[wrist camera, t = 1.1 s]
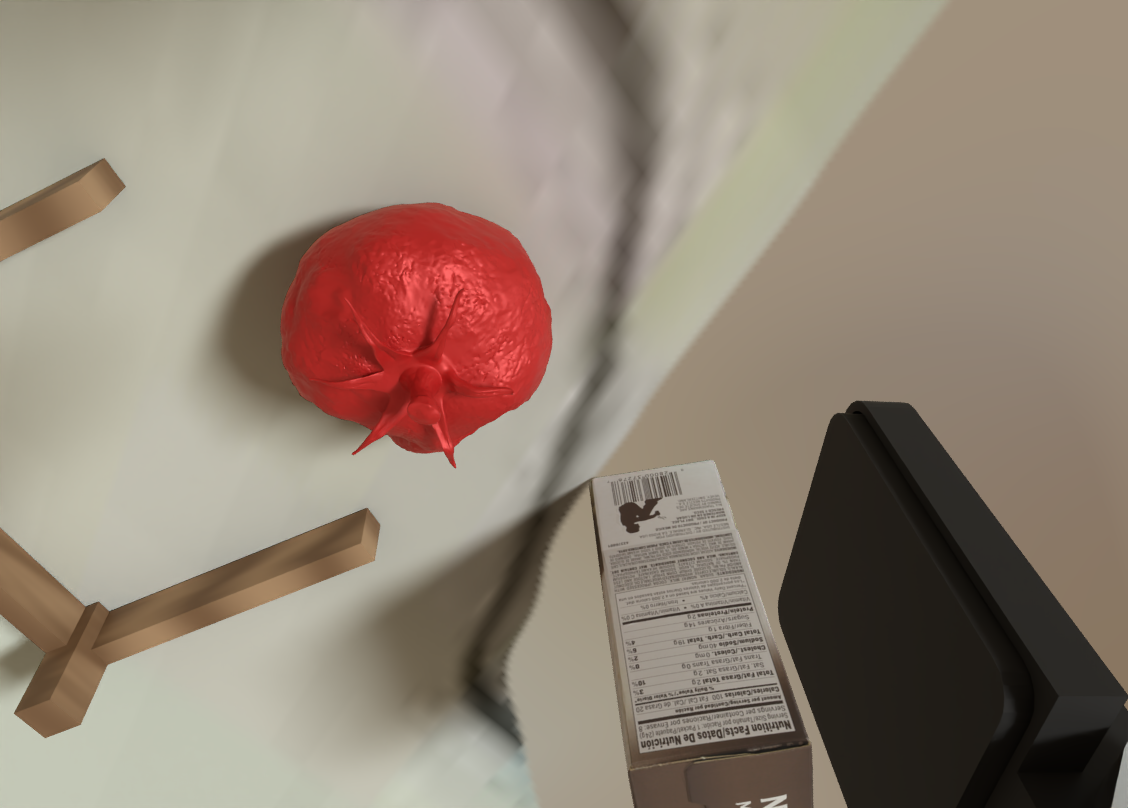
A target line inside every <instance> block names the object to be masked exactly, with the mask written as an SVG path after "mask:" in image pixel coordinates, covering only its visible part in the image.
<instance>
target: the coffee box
mask: <svg viewBox="0 0 1128 808" xmlns="http://www.w3.org/2000/svg"><path fill="white" fill-rule="evenodd" d="M589 490H590V497H591V505H592V512H593V520H594V528H595V535H596V544H597V551H598V559H599V567H600V575H601V582H602V590H603V598H604V605H605V613H606V620H607V627H608V635H609V643H610V650H611V658H612V665H613V672H614V679H615V686H616V693H617V700H618V708H619V715H620V721H621V729H622V736H623V742H624V750H625V756H626V763H627V770H628V778H629V783H630V789H631V794H632V799H633V804H634V808H813V767H812V746H811V742H810V740H809V738H808V735H807V733H806V730H805V727H804V724H803V721H802V718H801V715H800V712H799V709H798V706H797V704H796V700H795V697H794V694H793V691H792V688H791V686H790V683H789V680H788V677H787V674H786V671H785V668H784V665H783V662H782V659H781V656H780V654H779V651H778V648H777V645H776V642H775V639H774V636H773V633H772V630H771V627H770V624H769V621H768V618H767V615H766V612H765V609H764V606H763V603H762V600H761V597H760V594H759V592H758V588H757V585H756V582H755V580H754V577H753V574H752V571H751V568H750V565H749V562H748V559H747V556H746V553H745V550H744V547H743V544H742V541H741V538H740V535H739V531H738V529H737V526H736V522H735V519H734V517H733V514H732V511H731V508H730V505H729V502H728V499H727V496H726V493H725V490H724V487H723V484H722V482H721V479H720V476H719V473H718V470H717V467H716V465H715V462H714V461H713V460H707V461H700V462H694V463H688V464H681V465H675V466H668V467H661V468H656V469H648V470H642V471H635V472H629V473H623V474H616V475H610V476H604V477H597V478H593V479H591V480H590V482H589Z"/></svg>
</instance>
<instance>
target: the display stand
mask: <svg viewBox="0 0 1128 808" xmlns="http://www.w3.org/2000/svg"><path fill="white" fill-rule="evenodd" d="M125 187H126V186H125V185H124V184H123V182H122V181H121V180H120V178H119V177H118V176H117V174H116V173H115V172H114V170H113V169H112V168H111V166H110V165H109V164H108V162H107V161H106V160H105V158H104V159H102V160H100V161H98V162H96V163H94V164H92V165H90V166H88V167H86V168H84V169H82V170H80V171H78V172H76V173H74V174H72V175H70V176H68V177H66V178H64V179H62V180H60V181H58V182H56V183H54V184H52V185H51V186H49V187H47V188H45V189H43V190H41V191H39V192H37V193H35V194H33V195H31V196H29V197H27V198H25V199H23V200H21V201H19V202H17V203H15V204H13V205H11V206H9V207H7V208H5V209H3V210H1V211H0V261H2V260H4V259H6V258H8V257H10V256H12V255H14V254H16V253H18V252H20V251H22V250H24V249H26V248H28V247H30V246H32V245H34V244H36V243H38V242H40V241H42V240H44V239H46V238H48V237H50V236H52V235H54V234H56V233H58V232H60V231H62V230H64V229H66V228H68V227H70V226H72V225H74V224H76V223H78V222H80V221H82V220H85V219H87V218H89V217H91V216H93V215H95V214H97V213H99V212H101V211H102V210H103V209H104V208H105V207H106V206H107V205H108V204H109V203H110V202H111V201H112V200H113V199H114V198H115V197H116V196H117V195H118V194H119V193H120V192H121V191H122V190H123V189H124V188H125ZM379 530H380V524H379V523H378V521H377V520H376V519H375V517H374V516H373V515H372V513H371V512H370V511H369V509H368V508H366V509H364V510H361V511H359V512H356V513H354V514H351V515H349V516H346V517H344V518H341V519H339V520H336V521H334V522H331V523H329V524H326V525H324V526H321V527H319V528H316V529H314V530H311V531H309V532H306V533H304V534H301V535H299V536H296V537H294V538H292V539H289V540H287V541H284V542H282V543H279V544H277V545H274V546H272V547H269V548H267V549H264V550H262V551H259V552H257V553H254V554H252V555H249V556H247V557H244V558H242V559H239V560H237V561H234V562H232V563H229V564H227V565H224V566H222V567H219V568H217V569H214V570H212V571H209V572H207V573H205V574H202V575H200V576H197V577H195V578H192V579H190V580H187V581H185V582H182V583H180V584H177V585H175V586H172V587H170V588H167V589H165V590H162V591H160V592H157V593H155V594H152V595H150V596H147V597H145V598H142V599H140V600H137V601H135V602H132V603H130V604H127V605H125V606H122V607H120V608H118V609H115V610H113V611H110V612H109V611H108V610H107V609H106V608H105V607H104V606H103V605H102V604H101V603H99V602H97V603H95V604H92V605H90V606H87V607H85V606H84V605H83V604H82V603H81V602H80V601H79V600H77V599H76V598H75V597H74V596H73V595H72V594H71V593H70V592H69V591H68V590H67V589H66V588H65V587H63V586H62V585H61V584H60V583H59V582H58V581H57V580H56V579H55V578H54V577H53V576H52V575H51V574H49V573H48V572H47V571H46V570H45V569H44V568H43V567H42V566H41V565H40V564H39V563H38V562H36V561H35V560H34V559H33V558H32V557H31V556H30V555H29V554H28V553H27V552H26V551H25V550H24V549H22V548H21V547H20V546H19V545H18V544H17V543H16V542H15V541H14V540H13V539H12V538H11V537H10V536H8V535H7V534H6V533H5V532H4V531H3V530H2V529H1V528H0V614H1V615H2V616H3V617H4V618H5V619H7V620H8V621H9V622H10V623H11V624H12V625H14V626H15V627H16V628H17V629H18V630H19V631H21V632H22V633H23V634H24V635H25V636H26V637H28V638H29V639H30V640H31V641H32V642H33V643H35V644H36V645H37V646H38V647H39V648H40V649H41V650H43V651H44V652H45V653H46V654H45V656H44V658H43V660H42V662H41V663H40V665H39V667H38V669H37V671H36V673H35V675H34V677H33V678H32V680H31V682H30V684H29V686H28V688H27V690H26V692H25V694H24V695H23V697H22V699H21V701H20V703H19V705H18V707H17V709H16V710H15V712H14V714H15V715H16V716H18V717H19V718H20V719H21V720H23V721H24V722H25V723H27V724H28V725H29V726H30V727H32V728H33V729H34V730H35V731H37V732H38V733H39V734H41V735H42V736H43V737H44V738H47V737H49V736H52V735H55V734H57V733H60V732H63V731H65V730H68V729H70V728H73V727H76V726H78V725H81V722H82V720H83V718H84V716H85V714H86V711H87V709H88V707H89V705H90V703H91V700H92V698H93V696H94V694H95V691H96V689H97V687H98V685H99V683H100V680H101V678H102V676H103V674H104V672H105V669H106V667H107V665H108V664H111V663H113V662H116V661H118V660H121V659H124V658H126V657H129V656H131V655H134V654H136V653H139V652H141V651H144V650H147V649H149V648H152V647H154V646H157V645H159V644H162V643H165V642H167V641H170V640H172V639H175V638H177V637H180V636H182V635H185V634H188V633H190V632H193V631H195V630H198V629H200V628H203V627H206V626H208V625H211V624H213V623H216V622H218V621H221V620H223V619H226V618H229V617H231V616H234V615H236V614H239V613H241V612H244V611H247V610H249V609H252V608H254V607H257V606H259V605H262V604H264V603H267V602H270V601H272V600H275V599H277V598H280V597H282V596H285V595H288V594H290V593H293V592H295V591H298V590H300V589H303V588H305V587H308V586H311V585H313V584H316V583H318V582H321V581H323V580H326V579H329V578H331V577H334V576H336V575H339V574H341V573H344V572H346V571H349V570H352V569H354V568H357V567H359V566H362V565H364V564H367V563H370V562H372V561H375V555H376V549H377V542H378V536H379Z"/></svg>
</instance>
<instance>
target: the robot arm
mask: <svg viewBox="0 0 1128 808" xmlns="http://www.w3.org/2000/svg"><path fill="white" fill-rule="evenodd" d="M778 613H779V622H780V625H781V629H782V632H783V634H784V637H785V640H786V642H787V645H788V648H789V650H790V653H791V656H792V659H793V661H794V664H795V667H796V669H797V672H798V675H799V677H800V680H801V683H802V686H803V688H804V691H805V694H806V696H807V699H808V702H809V704H810V707H811V710H812V713H813V715H814V718H815V721H816V723H817V726H818V729H819V731H820V734H821V737H822V739H823V742H824V745H825V748H826V750H827V753H828V756H829V758H830V761H831V764H832V767H833V769H834V772H835V774H836V777H837V780H838V783H839V785H840V788H841V791H842V793H843V796H844V799H845V801H846V804H847V807H848V808H1128V711H1127V709H1126V708H1125V706H1124V704H1125V702H1126V701H1127V699H1128V695H1127V693H1126V692H1125V691H1124V689H1123V688H1122V687H1121V685H1120V684H1119V683H1118V681H1117V680H1116V679H1115V677H1114V676H1113V674H1112V673H1111V672H1110V670H1109V669H1108V668H1107V666H1106V665H1105V664H1104V662H1103V661H1102V660H1101V659H1100V657H1099V656H1098V654H1097V653H1096V652H1095V650H1094V649H1093V648H1092V646H1091V645H1090V644H1089V642H1088V641H1087V640H1086V638H1085V637H1084V636H1083V634H1082V633H1081V632H1080V630H1079V629H1078V628H1077V626H1076V625H1075V623H1074V622H1073V621H1072V619H1071V618H1070V617H1069V615H1068V614H1067V613H1066V611H1065V610H1064V609H1063V608H1062V606H1061V605H1060V603H1059V602H1058V601H1057V599H1056V598H1055V597H1054V595H1053V594H1052V593H1051V591H1050V590H1049V589H1048V587H1047V586H1046V585H1045V583H1044V582H1043V581H1042V579H1041V578H1040V577H1039V575H1038V574H1037V572H1036V571H1035V570H1034V568H1033V567H1032V566H1031V564H1030V563H1029V562H1028V560H1027V559H1026V558H1025V556H1024V555H1023V554H1022V552H1021V551H1020V550H1019V548H1018V547H1017V546H1016V545H1015V543H1014V542H1013V540H1012V539H1011V538H1010V536H1009V535H1008V534H1007V532H1006V531H1005V530H1004V528H1003V527H1002V526H1001V524H1000V523H999V522H998V520H997V519H996V518H995V516H994V515H993V513H992V512H991V511H990V509H989V508H988V507H987V506H986V504H985V503H984V501H983V500H982V499H981V498H980V496H979V495H978V493H977V492H976V491H975V489H974V488H973V487H972V485H971V484H970V483H969V481H968V480H967V479H966V477H965V476H964V475H963V473H962V472H961V471H960V469H959V468H958V467H957V465H956V464H955V463H954V461H953V460H952V458H951V457H950V456H949V454H948V453H947V452H946V450H945V449H944V448H943V446H942V445H941V444H940V442H939V441H938V440H937V438H936V437H935V436H934V434H933V433H932V432H931V430H930V429H929V428H928V426H927V425H926V424H925V422H924V421H923V420H922V418H921V417H920V416H919V414H918V413H917V412H916V410H915V409H914V408H913V407H912V406H911V405H910V404H908V403H901V402H876V401H875V402H874V401H855V402H853V403H851V405H850V406H849V407H848V409H847V410H846V413H837V414H835V415H834V416H833V417H832V419H831V420H830V423H829V426H828V429H827V432H826V436H825V439H824V443H823V446H822V449H821V453H820V456H819V460H818V463H817V467H816V470H815V473H814V477H813V480H812V484H811V487H810V491H809V494H808V497H807V501H806V504H805V508H804V511H803V515H802V518H801V522H800V525H799V528H798V532H797V535H796V539H795V542H794V545H793V549H792V553H791V556H790V559H789V563H788V566H787V570H786V573H785V576H784V580H783V583H782V587H781V590H780V594H779V600H778Z"/></svg>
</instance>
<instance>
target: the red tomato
mask: <svg viewBox="0 0 1128 808" xmlns="http://www.w3.org/2000/svg"><path fill="white" fill-rule="evenodd" d="M551 322H552V318H551V310H550V307H549V305H548V304H547V301H546V300H545V298H544V293H543V288H542V284H541V280H540V277H539V276H538V274H537V272H536V270H535V267H534V265H533V264H532V262H531V260H530V258H529V256H528V255H527V253H526V251H525V250H524V248H523V247H522V245H521V243H520V241H519V240H518V239H517V238H516V237H515V236H513V235H512V234H511V233H510V232H509V231H508V230H506V229H504V228H502V227H500V226H498V225H497V224H495V223H493V222H490V221H488V220H486V219H483V218H481V217H478V216H474V215H471V214H468V213H464V212H460V211H457V210H456V209H454V208H453V207H450V206H445V205H443V204H440V203H418V204H400V205H393V206H389V207H385V208H381V209H378V210H375V211H372V212H369V213H367V214H363V215H361V216H358V217H356V218H354V219H352V220H350V221H347V222H345V223H343V224H341V225H338V226H336V227H334V228H332V229H330V230H329V231H328V232H326V233H325V234H324V235H322V236H321V237H320V238H318V239H317V240H316V241H315V242H314V243H313V244H312V245H311V246H310V248H309V249H308V250H307V252H306V253H305V254H304V255H303V257H302V258H301V260H300V262H299V266H298V269H297V272H296V276H295V279H294V280H293V282H292V284H291V285H290V287H289V290H288V292H287V294H286V297H285V300H284V304H283V307H282V314H281V326H280V332H281V337H282V349H281V356H282V361H283V365H284V367H285V369H286V370H287V371H288V373H289V377H290V379H291V381H292V384H293V385H294V386H296V388H297V390H298V392H299V394H300V396H302V397H303V398H305V399H306V400H308V401H310V402H313V403H314V404H315V405H316V406H317V407H319V408H320V409H321V410H322V411H324V412H325V413H327V414H329V415H331V416H334V417H337V418H340V419H343V420H350V421H354V422H356V423H359V424H361V425H363V426H365V427H367V428H369V429H370V430H372V432H371V433H370V435H369V436H368V437H367V438H366V439H365V441H364V442H363V443H362V444H361V446H360V447H359V448H358V449H357V450H356V451H354V452H353V453H352V455H355V454H356V453H358V452H359V451H360V450H362V449H363V448H365V447H366V446H368V445H369V444H371V443H372V442H374V441H376V440H378V439H380V438H381V437H383V436H384V435H388V436H389V437H391V439H392V440H393V441H394V442H395V444H397V445H398V446H400V447H401V448H403V449H406V450H407V451H411V452H414V453H433V452H443V451H444V453H445V455H446V457H447V458H448V460H449V462H450V463H451V464H452V466H453V467H454V468H456V464H455V461H454V457H453V454H454V447H455V446H456V445H457V444H458V443H459V442H460V441H461V440H462V439H464V438H465V437H467V436H468V435H471V434H473V433H474V432H475V431H476V430H477V429H478V428H480V427H482V426H484V425H486V424H487V423H489V422H492V421H494V420H496V419H497V418H498V417H500V416H501V415H503V414H504V413H506V412H508V411H510V410H514V409H516V408H518V407H519V406H520V405H522V404H523V403H524V402H526V401H528V400H529V399H530V397H531V396H532V394H533V393H534V392H535V391H536V389H537V388H538V386H539V384H540V382H541V380H542V378H543V376H544V373H545V371H546V366H547V364H548V361H549V357H550V353H551V349H552V331H551Z"/></svg>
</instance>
